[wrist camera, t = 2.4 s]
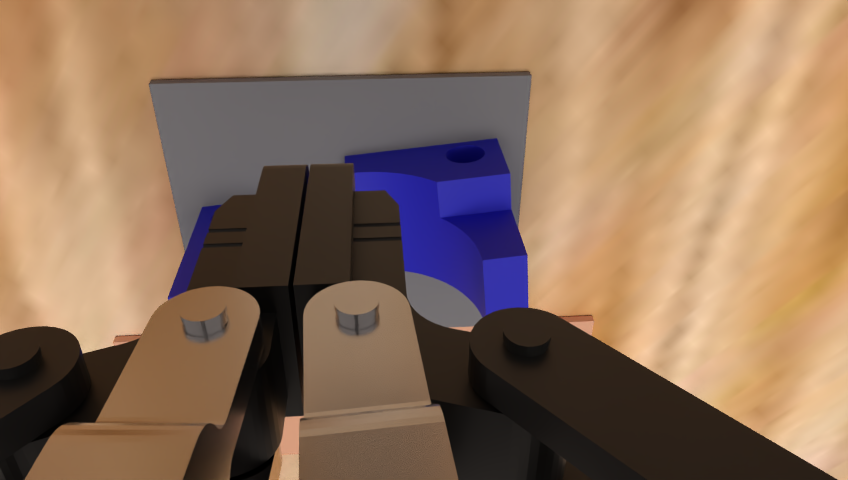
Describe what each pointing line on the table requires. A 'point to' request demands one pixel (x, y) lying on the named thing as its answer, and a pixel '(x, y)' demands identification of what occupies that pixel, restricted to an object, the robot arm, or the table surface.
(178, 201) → the t mat
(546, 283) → the table surface
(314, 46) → the table surface
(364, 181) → the blue cradle block
